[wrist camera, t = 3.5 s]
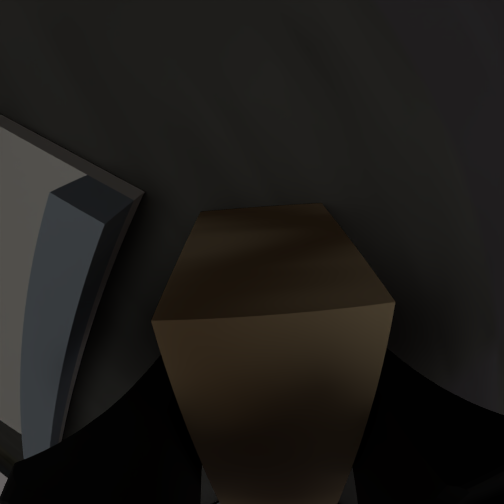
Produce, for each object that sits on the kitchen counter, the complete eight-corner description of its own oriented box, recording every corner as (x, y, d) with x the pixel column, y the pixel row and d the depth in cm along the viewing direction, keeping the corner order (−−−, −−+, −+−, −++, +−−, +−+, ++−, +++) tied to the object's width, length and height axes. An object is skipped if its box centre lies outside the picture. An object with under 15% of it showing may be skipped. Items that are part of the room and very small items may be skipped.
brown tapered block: (321, 203, 9) (395, 302, 4) (314, 390, 13) (337, 504, 8) (195, 212, 10) (141, 320, 5) (226, 396, 13) (220, 512, 8)
